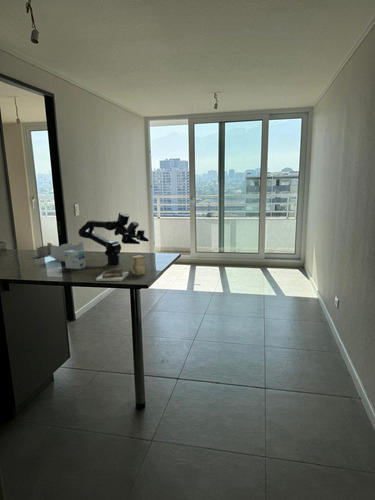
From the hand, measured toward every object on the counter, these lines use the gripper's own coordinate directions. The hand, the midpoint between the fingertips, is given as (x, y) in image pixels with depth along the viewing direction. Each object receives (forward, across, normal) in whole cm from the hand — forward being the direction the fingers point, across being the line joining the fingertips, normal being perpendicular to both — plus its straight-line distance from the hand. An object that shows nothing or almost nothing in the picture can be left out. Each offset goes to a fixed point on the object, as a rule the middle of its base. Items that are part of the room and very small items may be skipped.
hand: (144, 242), depth 198 cm
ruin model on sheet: (-78, 0, +49) cm, 92 cm away
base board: (+2, -25, +16) cm, 30 cm away
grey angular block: (-51, -4, +38) cm, 63 cm away
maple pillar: (+10, -13, +13) cm, 21 cm away
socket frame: (+2, -25, +15) cm, 29 cm away
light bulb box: (-32, -17, +30) cm, 47 cm away
